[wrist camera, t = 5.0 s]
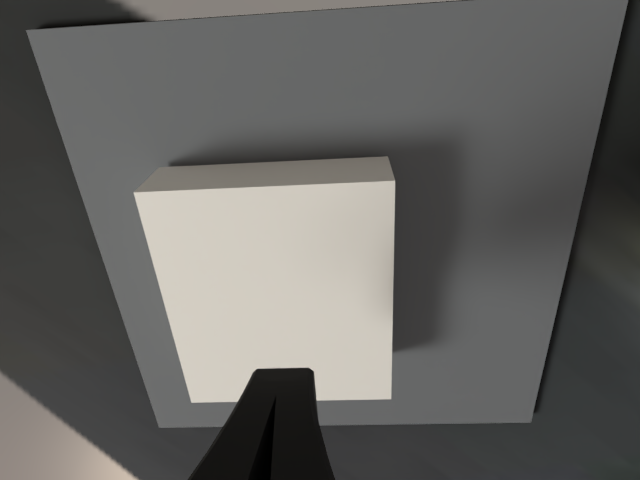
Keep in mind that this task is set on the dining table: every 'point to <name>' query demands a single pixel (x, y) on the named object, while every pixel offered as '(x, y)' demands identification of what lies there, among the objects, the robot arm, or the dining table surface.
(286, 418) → the robot arm
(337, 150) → the mat
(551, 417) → the dining table surface
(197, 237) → the block
